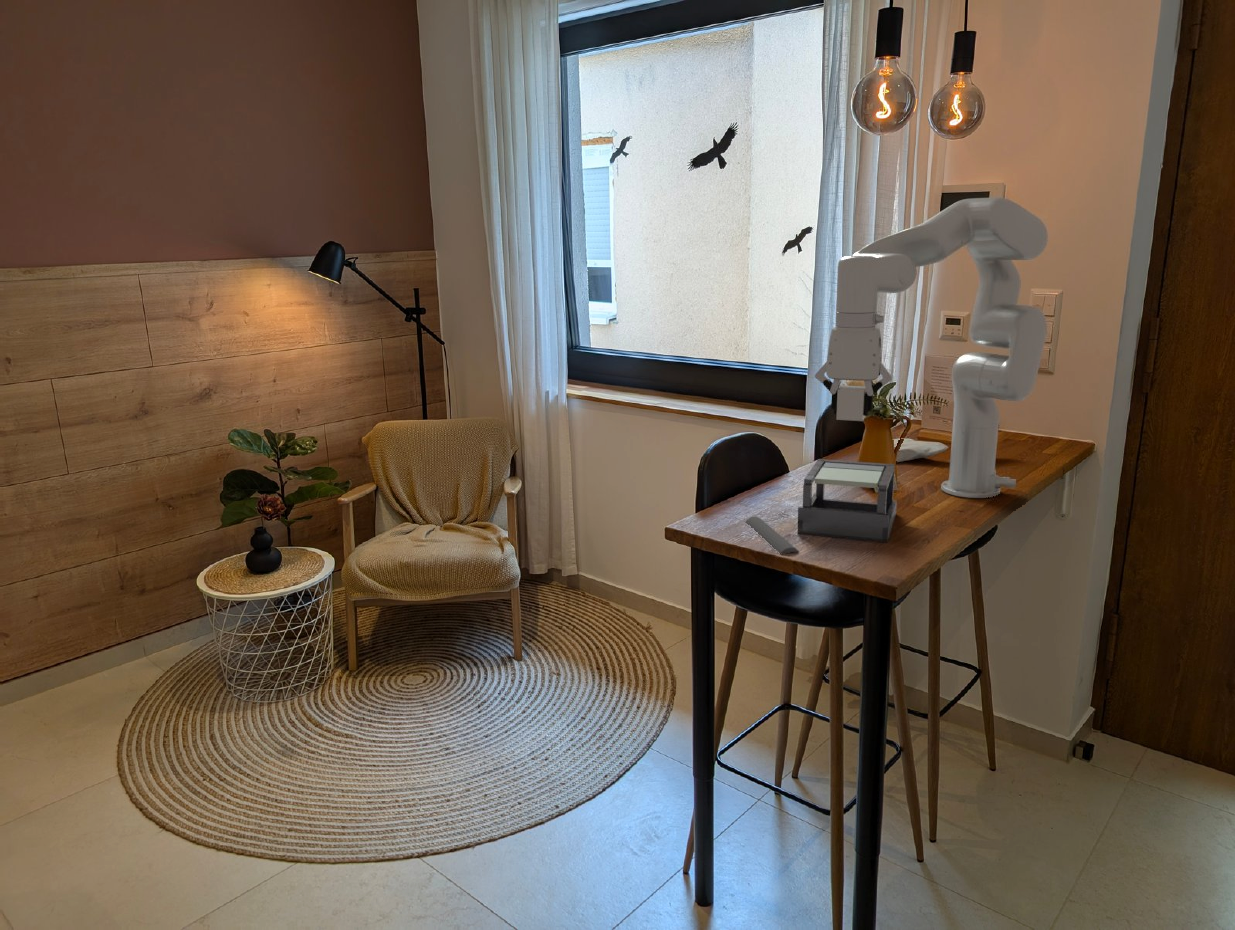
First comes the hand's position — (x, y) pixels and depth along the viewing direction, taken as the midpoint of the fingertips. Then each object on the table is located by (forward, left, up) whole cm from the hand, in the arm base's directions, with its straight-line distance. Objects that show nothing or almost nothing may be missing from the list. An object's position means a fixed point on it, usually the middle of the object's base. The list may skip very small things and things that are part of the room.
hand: (851, 413), depth 176 cm
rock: (-5, -59, -24) cm, 64 cm away
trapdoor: (0, -1, -15) cm, 15 cm away
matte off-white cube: (0, 0, -1) cm, 1 cm away
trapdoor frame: (0, -2, -24) cm, 24 cm away
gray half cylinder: (+13, +11, -24) cm, 30 cm away
